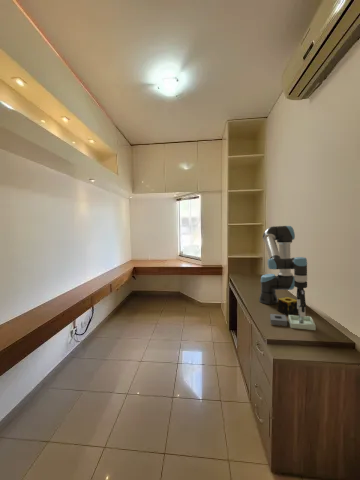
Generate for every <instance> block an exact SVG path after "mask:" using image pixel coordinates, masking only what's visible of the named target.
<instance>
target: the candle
mask: <svg viewBox="0 0 360 480" xmlns="http://www.w3.org/2000/svg"><path fill="white" fill-rule="evenodd" d="M277 304H278V306H277V312H280V313H281V314H282V315H286V316H288V315H296V314H299V309H297V299H295V298H292V297H289V296H285V297H281V298H280V297H279V298H278V303H277Z"/></svg>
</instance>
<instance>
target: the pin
mask: <svg viewBox="0 0 360 480" xmlns="http://www.w3.org/2000/svg"><path fill="white" fill-rule="evenodd" d="M300 306H301V305H298V316H299V323H300V324H304V317H301V316H300Z"/></svg>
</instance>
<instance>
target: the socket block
mask: <svg viewBox="0 0 360 480" xmlns="http://www.w3.org/2000/svg"><path fill="white" fill-rule="evenodd" d="M269 318H270V320H269V321H270V325H271V324H273V325H272V326H280V325H282V327H288V320H287V315H286V314H277V313H276V314H275V313H270V314H269Z"/></svg>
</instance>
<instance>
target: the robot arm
mask: <svg viewBox="0 0 360 480" xmlns="http://www.w3.org/2000/svg"><path fill="white" fill-rule="evenodd" d="M295 237H296V236H295V230H294V228H293V226H291V225H279V226H276V225H275V226H274V225H273V226H269V227H268V228H266V229H265V230H264V232H263V234H262V239H263V240H262V241H263V242H264V243H265V247H266V249H267V250H266V251H267V254H268V259H267V268H268V269H269V270H279V272H277V275H275V274H274V273H265V274H262V275H261V277H260V295H259V297H258V299H259V300H258V301H259V302H260V303H262V304H265V305H276V304H278V299H279V298H278V296H277V293H276V291H282V290H283V291H291V290H294V288H296V300H297V309H298V305H301V306H300V316H301V317H305V316H306V308H307V302H306V291H305V290H304V289H306V288H308V260H307V258H306V257H304V256H297V257H291V244H292V243H293V241H294V240H295V239H296V238H295ZM277 244H278V245H277ZM291 270H293V271H294V272H293V273H292V272H291ZM293 274H294V275H293ZM298 310H299V309H298Z"/></svg>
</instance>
